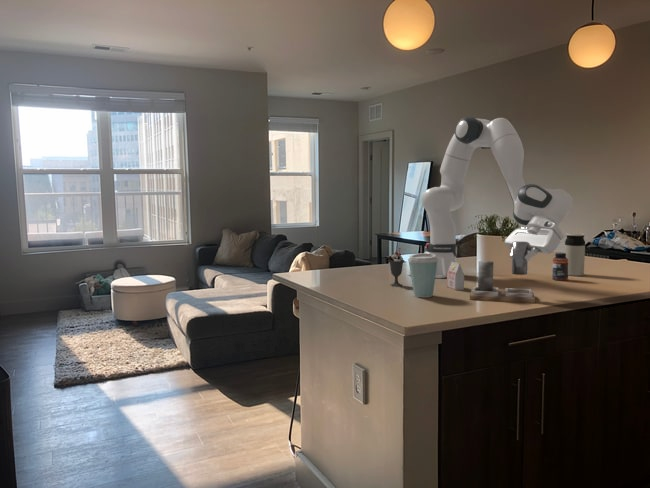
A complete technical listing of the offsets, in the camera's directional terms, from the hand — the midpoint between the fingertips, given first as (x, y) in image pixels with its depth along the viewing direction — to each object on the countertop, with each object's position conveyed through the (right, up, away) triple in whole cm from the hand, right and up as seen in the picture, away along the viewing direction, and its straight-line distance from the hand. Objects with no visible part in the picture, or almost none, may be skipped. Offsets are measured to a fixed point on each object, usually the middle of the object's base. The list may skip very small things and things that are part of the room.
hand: (518, 258), depth 180 cm
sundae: (-38, -12, +29) cm, 50 cm away
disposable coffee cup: (-31, -14, +8) cm, 35 cm away
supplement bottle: (+31, -10, +38) cm, 50 cm away
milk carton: (-16, -12, +22) cm, 30 cm away
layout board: (-5, -14, +3) cm, 15 cm away
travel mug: (+43, -9, +50) cm, 66 cm away
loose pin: (+1, -5, +1) cm, 5 cm away
